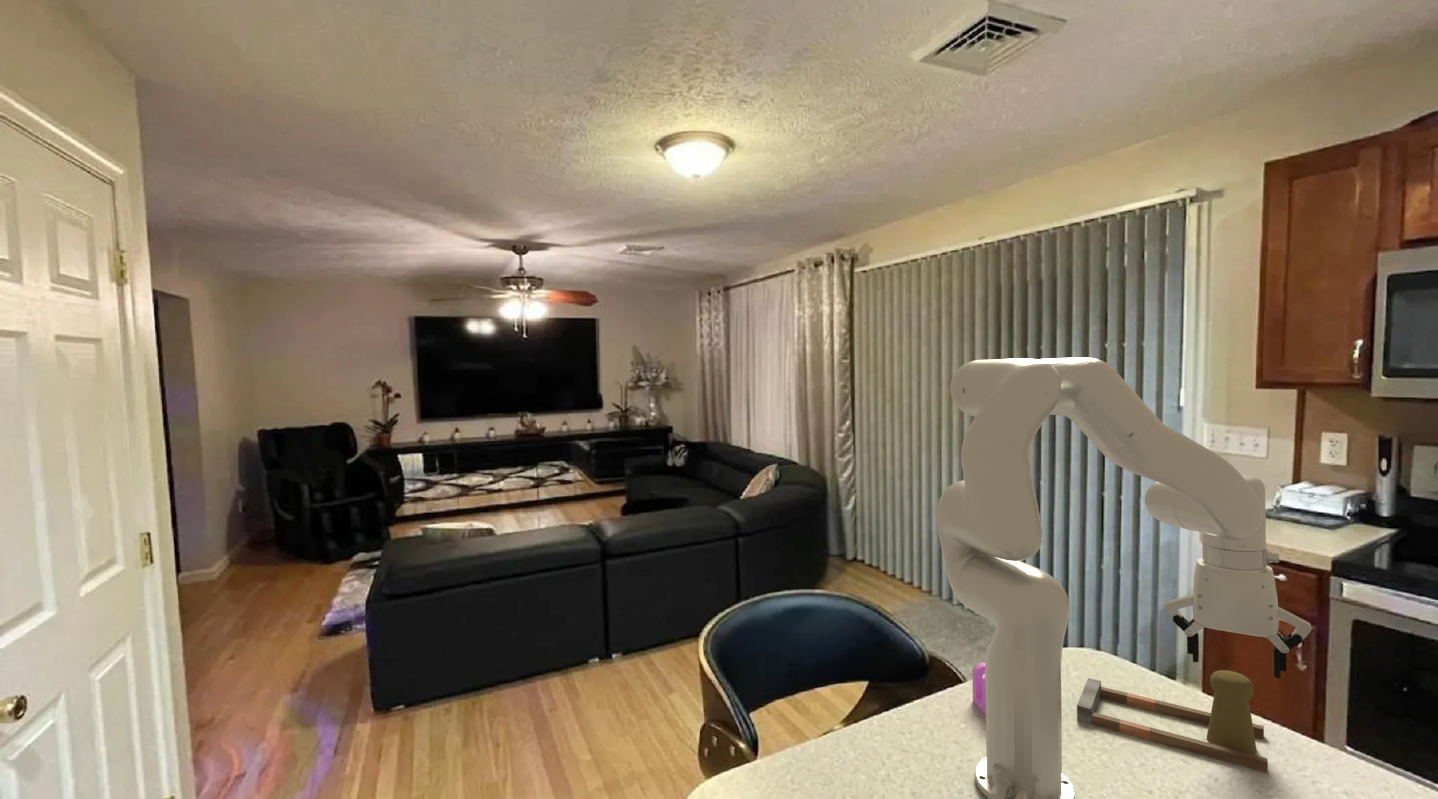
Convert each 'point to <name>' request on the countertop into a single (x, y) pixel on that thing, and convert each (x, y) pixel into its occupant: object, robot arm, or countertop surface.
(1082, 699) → the guide channel
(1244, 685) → the cork
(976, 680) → the bracket
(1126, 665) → the countertop surface
